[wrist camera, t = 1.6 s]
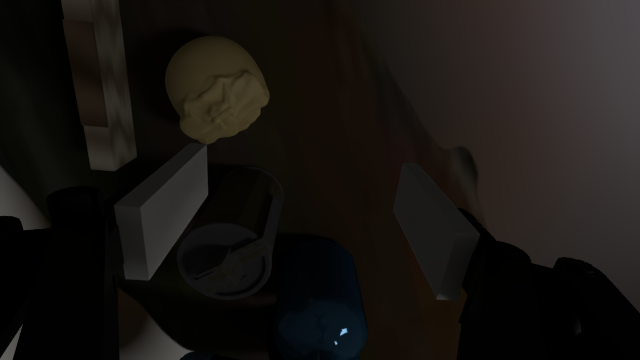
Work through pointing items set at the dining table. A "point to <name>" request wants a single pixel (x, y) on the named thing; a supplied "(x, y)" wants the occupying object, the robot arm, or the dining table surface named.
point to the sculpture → (215, 88)
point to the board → (100, 80)
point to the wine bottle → (319, 304)
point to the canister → (234, 236)
